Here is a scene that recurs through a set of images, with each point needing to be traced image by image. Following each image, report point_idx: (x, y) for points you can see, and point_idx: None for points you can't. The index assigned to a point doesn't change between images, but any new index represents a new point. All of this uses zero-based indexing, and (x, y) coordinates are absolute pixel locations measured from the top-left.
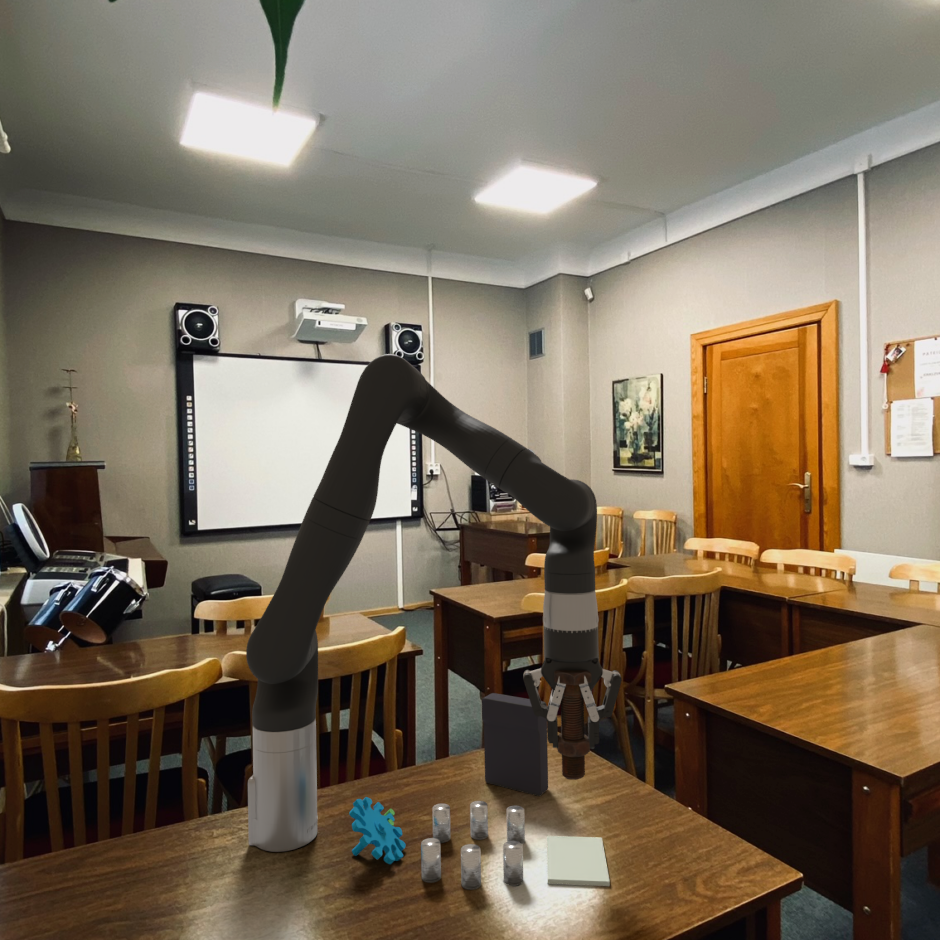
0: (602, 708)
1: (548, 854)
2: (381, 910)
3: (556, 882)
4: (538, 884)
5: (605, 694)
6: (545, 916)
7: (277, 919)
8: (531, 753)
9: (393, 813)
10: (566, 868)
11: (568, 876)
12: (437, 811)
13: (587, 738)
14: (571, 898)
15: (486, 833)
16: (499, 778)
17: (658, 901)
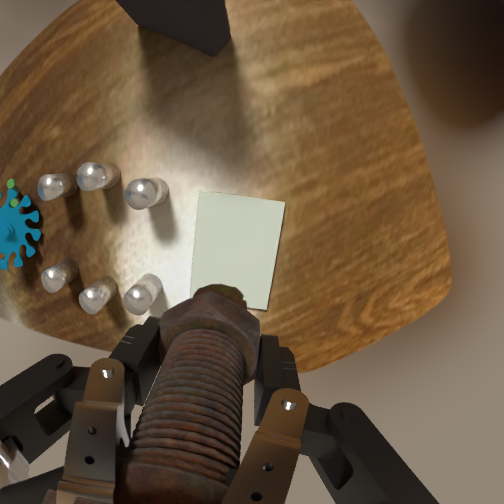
0: (313, 456)
1: (195, 243)
2: (49, 312)
3: None
4: (179, 295)
5: (356, 465)
6: None
7: (3, 308)
8: (186, 20)
9: (12, 184)
10: (216, 278)
11: None
12: (42, 199)
13: (252, 371)
14: None
15: (115, 182)
16: (152, 26)
17: (312, 334)
